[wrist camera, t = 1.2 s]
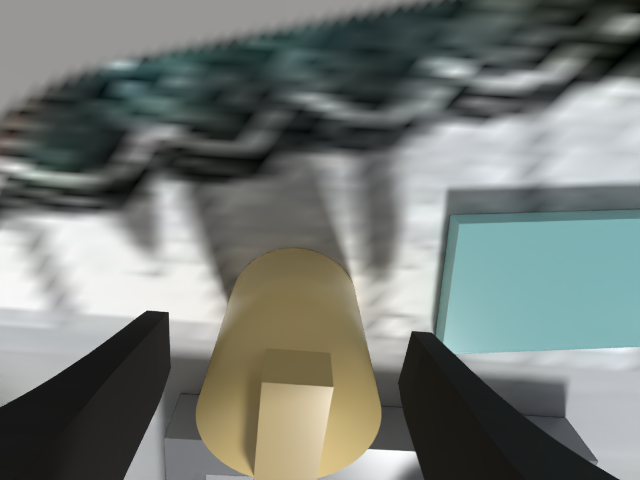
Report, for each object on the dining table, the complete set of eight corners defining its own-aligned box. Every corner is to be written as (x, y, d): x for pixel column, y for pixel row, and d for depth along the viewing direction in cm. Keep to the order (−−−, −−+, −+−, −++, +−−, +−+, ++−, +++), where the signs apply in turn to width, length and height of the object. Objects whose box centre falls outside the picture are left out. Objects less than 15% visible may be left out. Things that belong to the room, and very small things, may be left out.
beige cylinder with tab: (365, 254, 13) (409, 388, 8) (346, 357, 15) (370, 525, 10) (233, 241, 13) (182, 372, 7) (229, 348, 15) (185, 519, 9)
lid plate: (691, 207, 13) (714, 216, 12) (642, 332, 15) (660, 346, 14) (450, 214, 13) (459, 223, 12) (434, 340, 15) (441, 354, 14)
